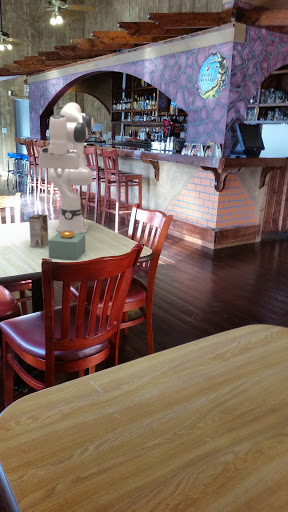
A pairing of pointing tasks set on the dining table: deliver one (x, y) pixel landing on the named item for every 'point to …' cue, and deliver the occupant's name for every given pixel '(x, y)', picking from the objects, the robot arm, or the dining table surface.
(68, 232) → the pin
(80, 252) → the block
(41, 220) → the coffee box
